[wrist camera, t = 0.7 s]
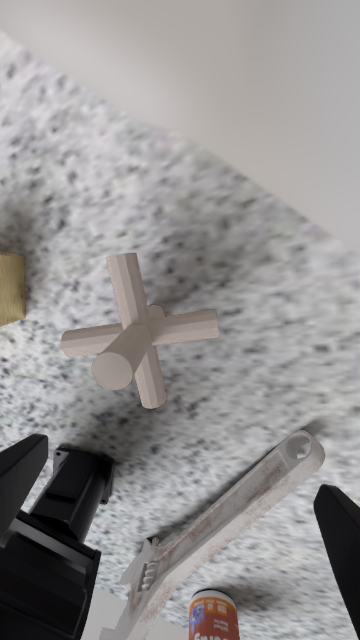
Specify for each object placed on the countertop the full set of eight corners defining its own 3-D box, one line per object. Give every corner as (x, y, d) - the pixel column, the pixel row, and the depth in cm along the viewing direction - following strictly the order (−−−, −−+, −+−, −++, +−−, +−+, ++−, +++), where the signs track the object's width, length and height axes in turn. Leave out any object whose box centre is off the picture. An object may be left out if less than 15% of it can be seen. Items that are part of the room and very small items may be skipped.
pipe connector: (114, 372, 21) (44, 468, 11) (85, 266, 18) (-37, 275, 9) (218, 359, 20) (240, 455, 10) (203, 245, 17) (212, 227, 8)
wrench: (298, 417, 24) (125, 571, 28) (287, 407, 24) (114, 564, 28) (356, 484, 16) (104, 685, 20) (340, 470, 16) (89, 677, 20)
